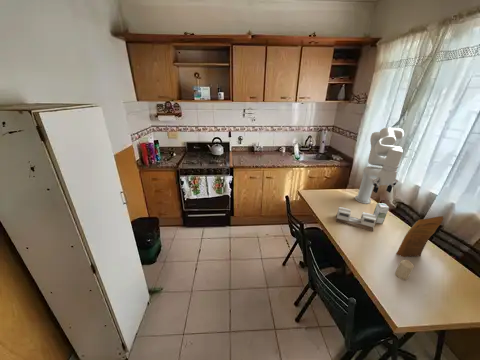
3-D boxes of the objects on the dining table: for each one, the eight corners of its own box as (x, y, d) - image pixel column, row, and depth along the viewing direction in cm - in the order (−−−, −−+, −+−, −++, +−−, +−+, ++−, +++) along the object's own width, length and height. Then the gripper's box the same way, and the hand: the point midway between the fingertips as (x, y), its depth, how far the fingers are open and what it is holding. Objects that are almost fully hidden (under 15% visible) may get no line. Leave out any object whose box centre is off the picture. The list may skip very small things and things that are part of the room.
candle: (395, 269, 115) (402, 256, 111) (408, 275, 112) (415, 261, 108) (394, 276, 111) (401, 262, 107) (407, 282, 108) (414, 267, 104)
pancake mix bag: (429, 258, 124) (450, 218, 112) (399, 259, 122) (417, 220, 110) (419, 250, 130) (438, 212, 118) (391, 251, 128) (407, 212, 117)
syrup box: (379, 219, 159) (385, 203, 153) (383, 224, 154) (389, 207, 148) (371, 218, 160) (376, 202, 154) (375, 223, 154) (381, 206, 148)
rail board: (336, 215, 163) (339, 205, 160) (371, 223, 154) (375, 213, 151) (336, 221, 155) (338, 212, 152) (373, 231, 146) (376, 221, 142)
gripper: (397, 165, 137) (389, 189, 144) (373, 166, 135) (365, 189, 142) (407, 169, 130) (397, 194, 137) (381, 170, 128) (373, 194, 136)
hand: (381, 191), depth 140 cm, fingers open, 9 cm apart
